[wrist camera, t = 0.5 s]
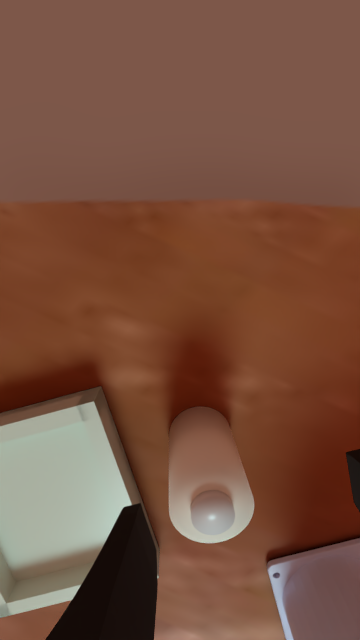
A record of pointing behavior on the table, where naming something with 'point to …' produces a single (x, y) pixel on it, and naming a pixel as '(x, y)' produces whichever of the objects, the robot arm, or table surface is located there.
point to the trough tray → (58, 497)
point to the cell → (206, 478)
